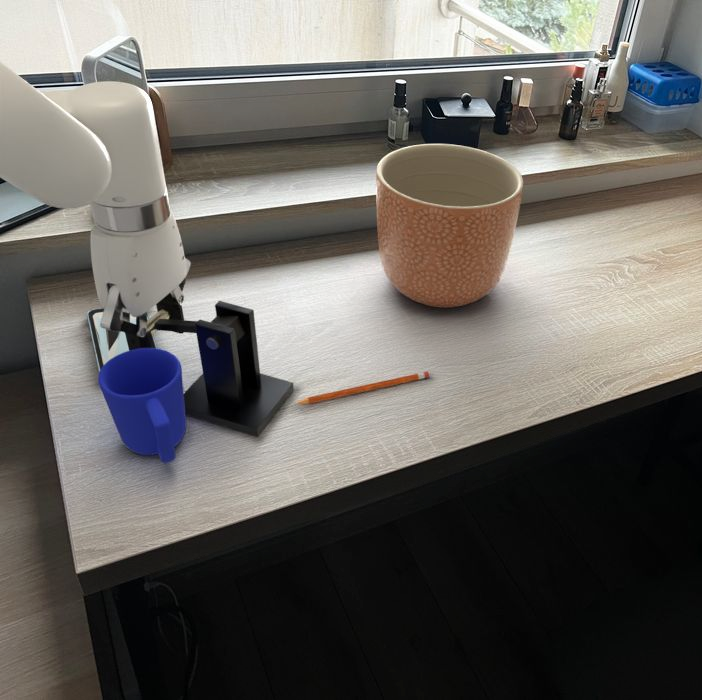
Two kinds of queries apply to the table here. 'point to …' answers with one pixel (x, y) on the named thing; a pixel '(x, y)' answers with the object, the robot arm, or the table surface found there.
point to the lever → (190, 323)
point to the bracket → (233, 377)
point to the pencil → (363, 388)
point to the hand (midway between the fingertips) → (158, 342)
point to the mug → (146, 400)
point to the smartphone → (107, 338)
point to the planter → (445, 221)
